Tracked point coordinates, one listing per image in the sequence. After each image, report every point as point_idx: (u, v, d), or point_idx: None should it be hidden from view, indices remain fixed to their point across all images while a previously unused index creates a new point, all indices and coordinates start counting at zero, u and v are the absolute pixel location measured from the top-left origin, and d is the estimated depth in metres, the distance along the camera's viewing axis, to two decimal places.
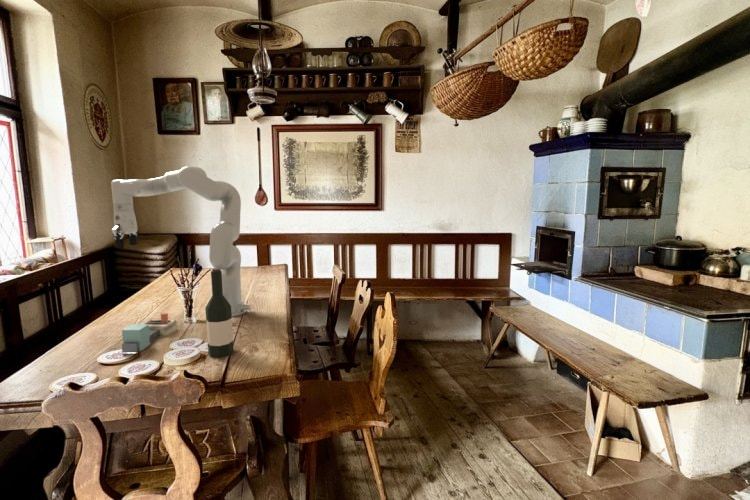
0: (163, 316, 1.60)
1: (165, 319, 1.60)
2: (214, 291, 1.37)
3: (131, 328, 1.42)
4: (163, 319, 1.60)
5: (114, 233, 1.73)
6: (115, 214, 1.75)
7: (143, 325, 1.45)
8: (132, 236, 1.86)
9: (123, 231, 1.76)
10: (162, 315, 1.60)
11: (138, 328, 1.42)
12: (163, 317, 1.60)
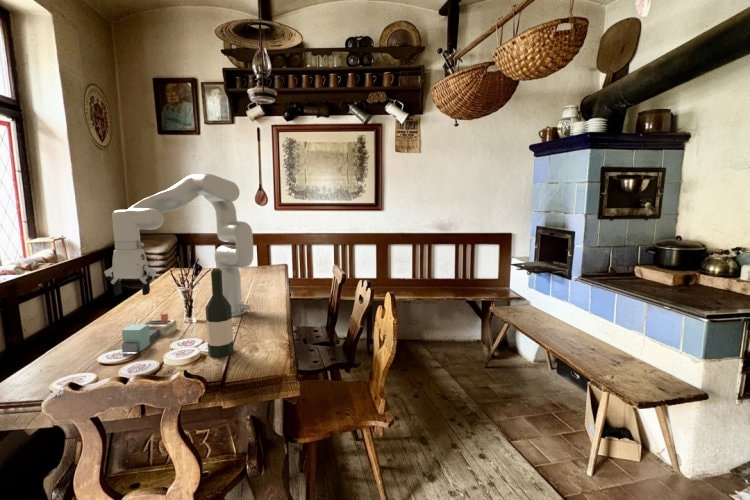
0: (163, 316, 1.60)
1: (165, 319, 1.60)
2: (214, 291, 1.37)
3: (131, 328, 1.42)
4: (163, 319, 1.60)
5: (153, 275, 1.41)
6: (139, 253, 1.39)
7: (143, 325, 1.45)
8: (118, 283, 1.41)
9: None
10: (162, 315, 1.60)
11: (138, 328, 1.42)
12: (163, 317, 1.60)
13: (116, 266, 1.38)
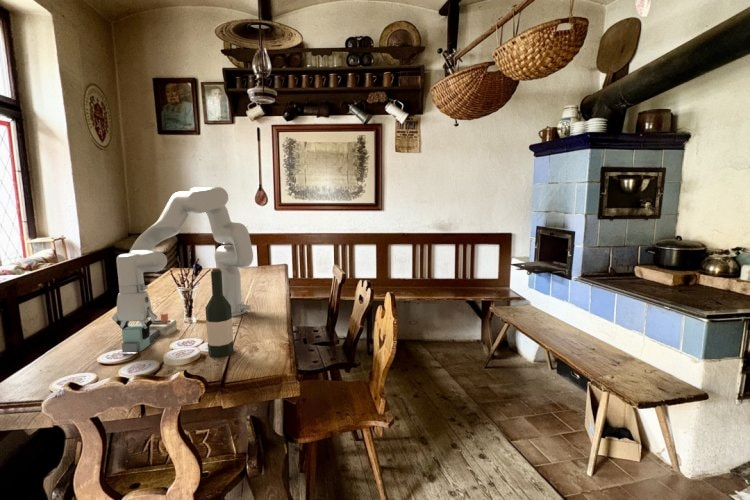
0: (163, 316, 1.60)
1: (165, 319, 1.60)
2: (214, 291, 1.37)
3: (131, 328, 1.42)
4: (163, 319, 1.60)
5: (153, 320, 1.43)
6: (143, 296, 1.41)
7: None
8: (127, 326, 1.44)
9: None
10: (162, 315, 1.60)
11: (138, 328, 1.42)
12: (163, 317, 1.60)
13: (120, 309, 1.40)
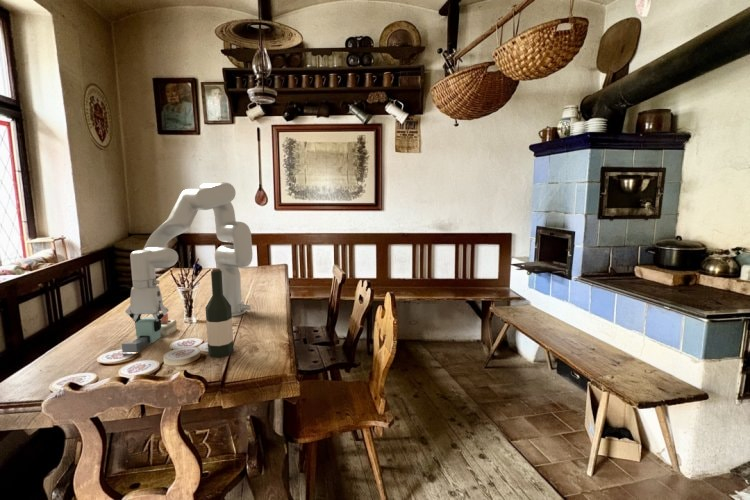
0: (163, 316, 1.60)
1: (165, 319, 1.60)
2: (214, 291, 1.37)
3: (143, 321, 1.50)
4: (163, 319, 1.60)
5: None
6: (155, 291, 1.49)
7: None
8: (140, 319, 1.51)
9: None
10: None
11: (150, 320, 1.50)
12: (163, 317, 1.60)
13: (134, 303, 1.48)
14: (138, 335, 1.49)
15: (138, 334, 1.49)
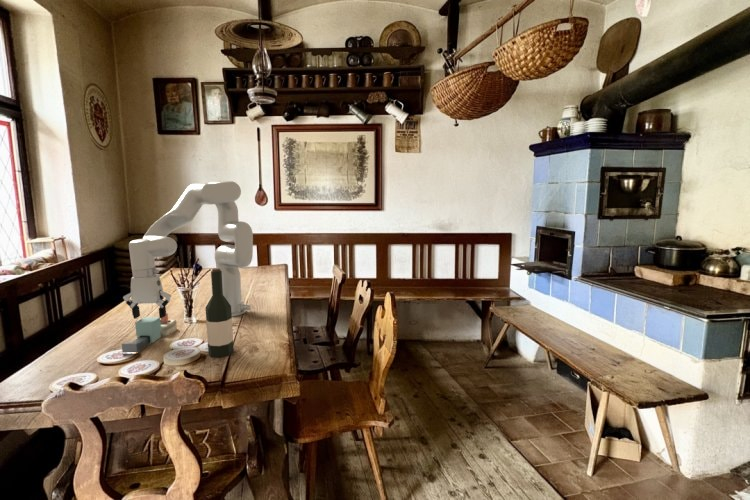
0: None
1: (165, 319, 1.60)
2: (214, 291, 1.37)
3: (144, 321, 1.50)
4: (163, 319, 1.60)
5: (169, 299, 1.51)
6: (155, 280, 1.48)
7: (155, 318, 1.53)
8: (136, 307, 1.51)
9: (163, 296, 1.53)
10: None
11: (150, 320, 1.50)
12: (163, 317, 1.60)
13: (134, 292, 1.48)
14: (138, 335, 1.49)
15: (139, 334, 1.49)
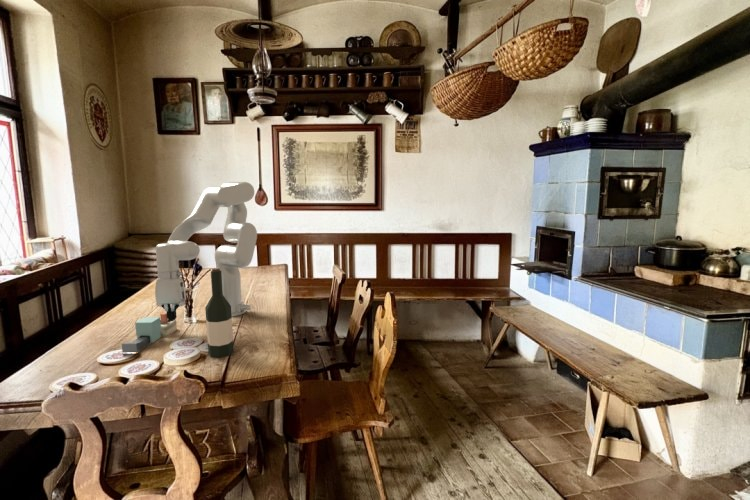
0: (163, 316, 1.60)
1: (165, 319, 1.60)
2: (214, 291, 1.37)
3: (144, 321, 1.50)
4: (163, 319, 1.60)
5: None
6: (179, 281, 1.57)
7: (155, 318, 1.53)
8: (171, 308, 1.60)
9: (185, 298, 1.62)
10: (162, 315, 1.60)
11: (150, 320, 1.50)
12: (163, 317, 1.60)
13: (158, 293, 1.57)
14: (138, 335, 1.49)
15: (139, 334, 1.49)
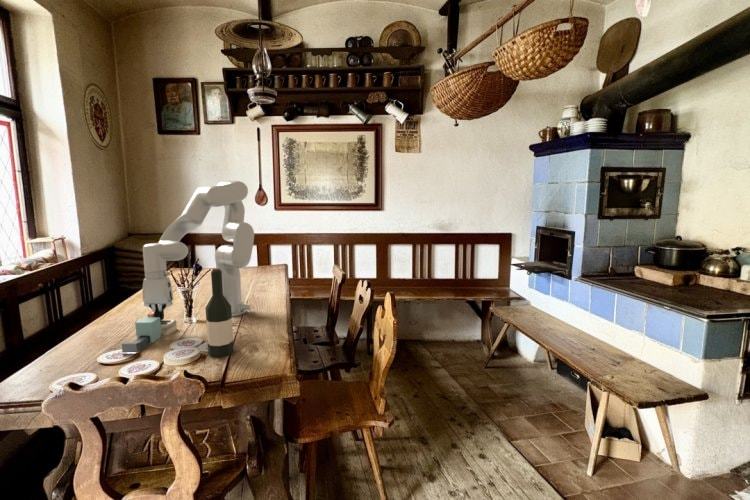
0: (150, 316, 1.60)
1: None
2: (214, 291, 1.37)
3: (144, 321, 1.50)
4: None
5: (167, 306, 1.60)
6: (166, 282, 1.57)
7: (155, 318, 1.53)
8: (158, 308, 1.60)
9: None
10: (149, 315, 1.60)
11: (150, 320, 1.50)
12: None
13: (146, 293, 1.57)
14: (138, 335, 1.49)
15: (139, 334, 1.49)
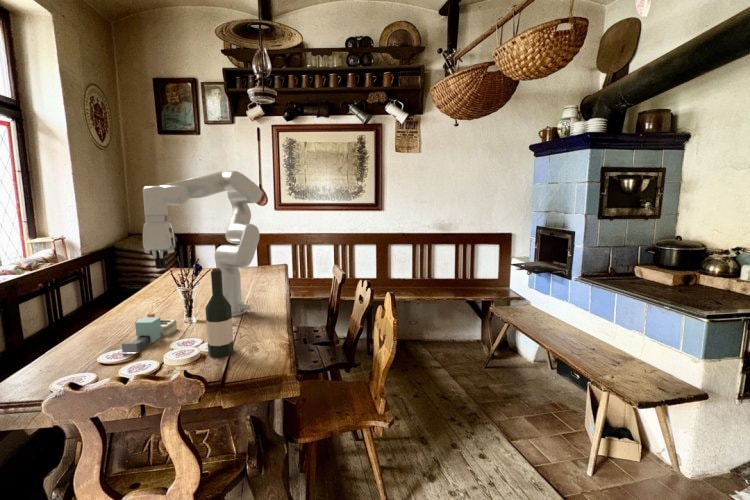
0: (150, 316, 1.60)
1: None
2: (214, 291, 1.37)
3: (144, 321, 1.50)
4: None
5: None
6: (167, 226, 1.50)
7: (155, 318, 1.53)
8: (159, 255, 1.52)
9: (174, 245, 1.54)
10: (149, 315, 1.60)
11: (150, 320, 1.50)
12: None
13: (146, 238, 1.49)
14: (138, 335, 1.49)
15: (139, 334, 1.49)
